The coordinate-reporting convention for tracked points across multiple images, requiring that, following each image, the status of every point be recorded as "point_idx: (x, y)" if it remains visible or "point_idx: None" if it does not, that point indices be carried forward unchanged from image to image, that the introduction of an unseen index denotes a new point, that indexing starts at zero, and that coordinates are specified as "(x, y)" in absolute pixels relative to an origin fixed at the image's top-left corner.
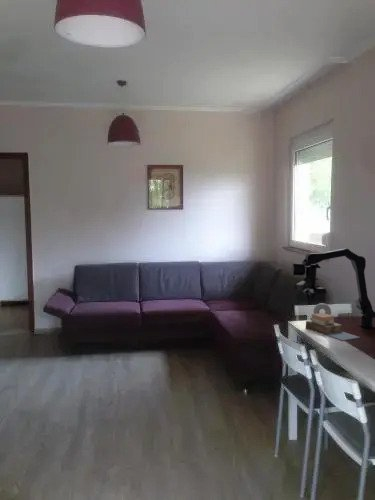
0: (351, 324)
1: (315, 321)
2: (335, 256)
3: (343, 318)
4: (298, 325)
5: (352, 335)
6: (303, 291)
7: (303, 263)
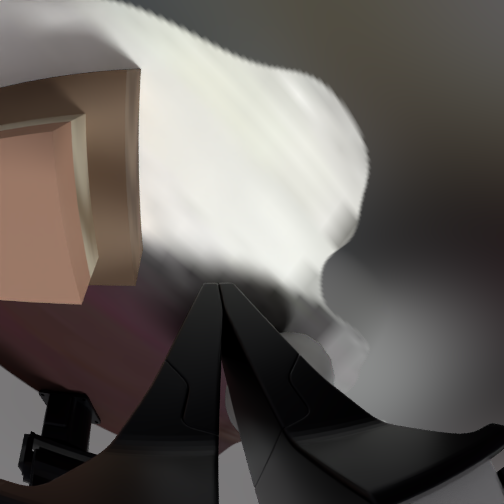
0: (123, 392)
1: (26, 121)
2: None
3: None
4: (254, 88)
5: None
6: (466, 466)
7: None
